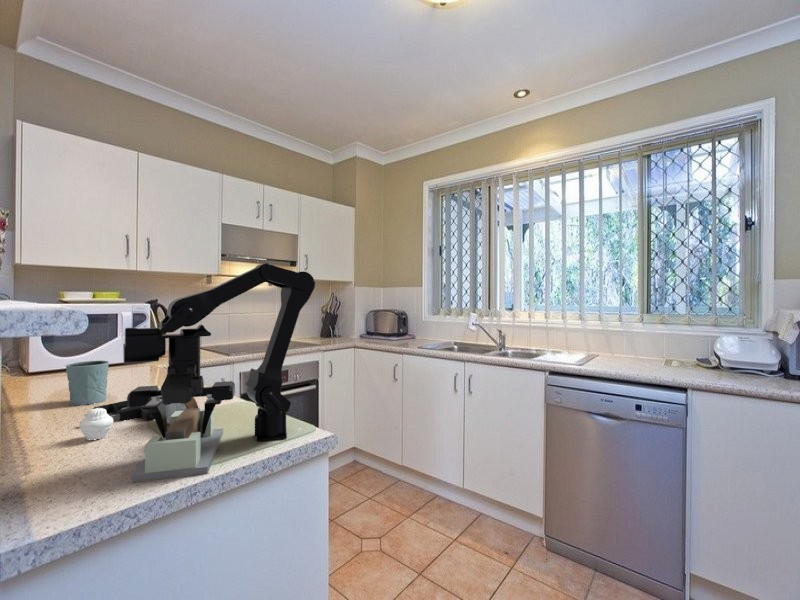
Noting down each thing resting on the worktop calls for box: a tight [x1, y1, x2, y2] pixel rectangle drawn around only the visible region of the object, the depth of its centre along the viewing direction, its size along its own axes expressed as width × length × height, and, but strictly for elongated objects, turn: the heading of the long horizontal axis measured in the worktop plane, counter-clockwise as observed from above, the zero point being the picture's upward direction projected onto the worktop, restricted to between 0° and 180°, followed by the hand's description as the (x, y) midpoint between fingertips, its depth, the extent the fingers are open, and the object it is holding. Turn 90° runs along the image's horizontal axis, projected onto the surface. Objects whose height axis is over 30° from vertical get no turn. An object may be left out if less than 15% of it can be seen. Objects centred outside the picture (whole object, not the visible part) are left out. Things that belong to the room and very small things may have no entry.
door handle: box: [79, 400, 155, 424], centre depth 104 cm, size 3×20×16 cm
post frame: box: [130, 408, 224, 483], centre depth 79 cm, size 12×22×6 cm, turn 18°
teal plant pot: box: [65, 360, 110, 406], centre depth 118 cm, size 10×10×12 cm
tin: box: [166, 397, 199, 426], centre depth 97 cm, size 15×3×8 cm, turn 59°
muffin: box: [78, 408, 114, 441], centre depth 88 cm, size 6×6×7 cm
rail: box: [166, 407, 201, 440], centre depth 79 cm, size 3×16×6 cm, turn 18°
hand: (184, 435), depth 79 cm, fingers open, 7 cm apart
